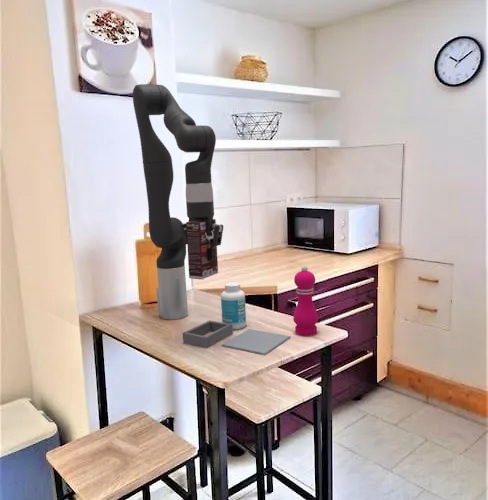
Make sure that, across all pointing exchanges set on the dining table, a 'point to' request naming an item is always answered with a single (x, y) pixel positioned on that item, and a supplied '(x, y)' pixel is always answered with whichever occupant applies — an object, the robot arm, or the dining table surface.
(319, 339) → the dining table surface
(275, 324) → the dining table surface
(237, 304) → the pill bottle
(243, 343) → the slate mat
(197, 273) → the supplement box
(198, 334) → the gray rectangular frame
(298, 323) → the pepper mill
